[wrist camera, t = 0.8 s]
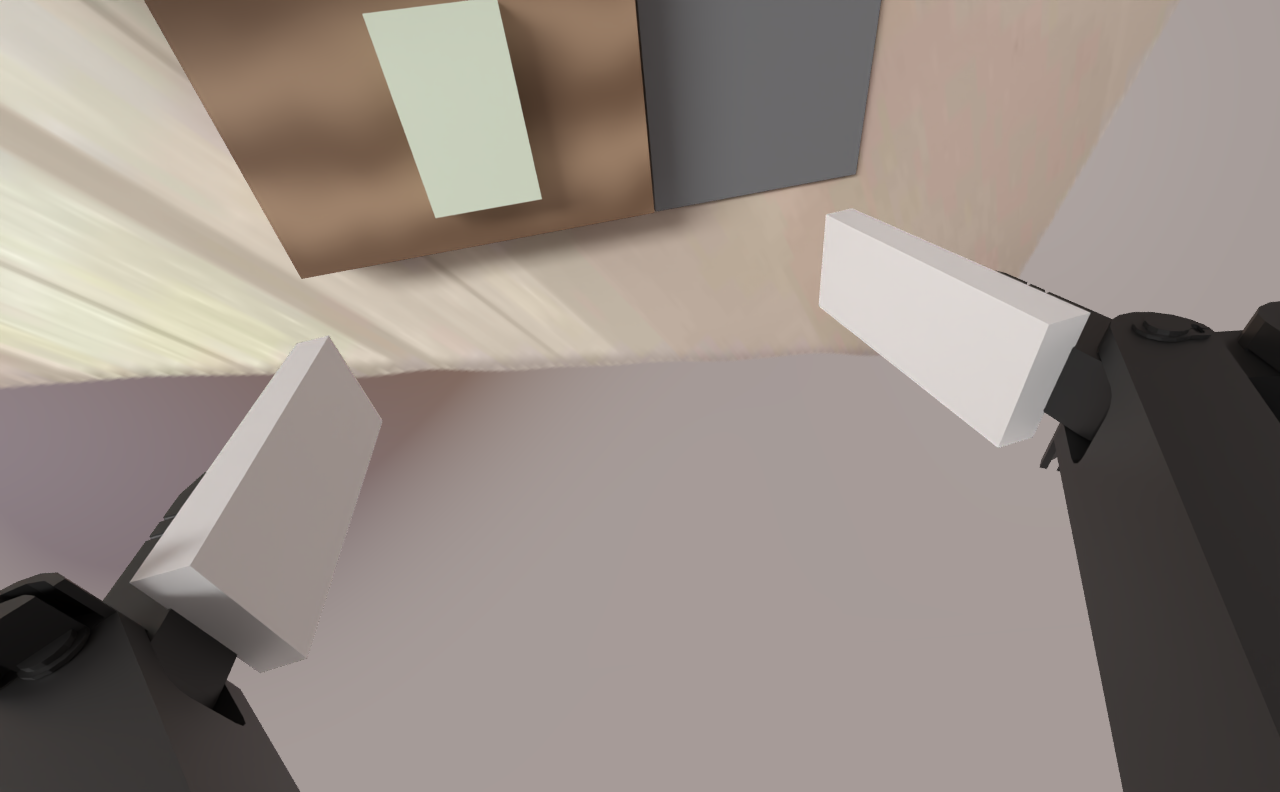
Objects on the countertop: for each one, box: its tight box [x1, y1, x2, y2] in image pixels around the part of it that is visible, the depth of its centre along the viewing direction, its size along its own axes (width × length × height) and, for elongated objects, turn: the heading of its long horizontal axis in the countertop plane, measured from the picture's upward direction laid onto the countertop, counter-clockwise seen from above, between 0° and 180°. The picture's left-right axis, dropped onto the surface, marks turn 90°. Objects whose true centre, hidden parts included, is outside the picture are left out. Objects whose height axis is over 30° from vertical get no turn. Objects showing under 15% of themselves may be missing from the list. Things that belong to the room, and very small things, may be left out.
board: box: [144, 0, 654, 279], centre depth 28 cm, size 14×22×4 cm, turn 97°
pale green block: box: [362, 0, 542, 218], centre depth 25 cm, size 9×6×2 cm, turn 7°
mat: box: [636, 0, 881, 211], centre depth 31 cm, size 16×16×1 cm
